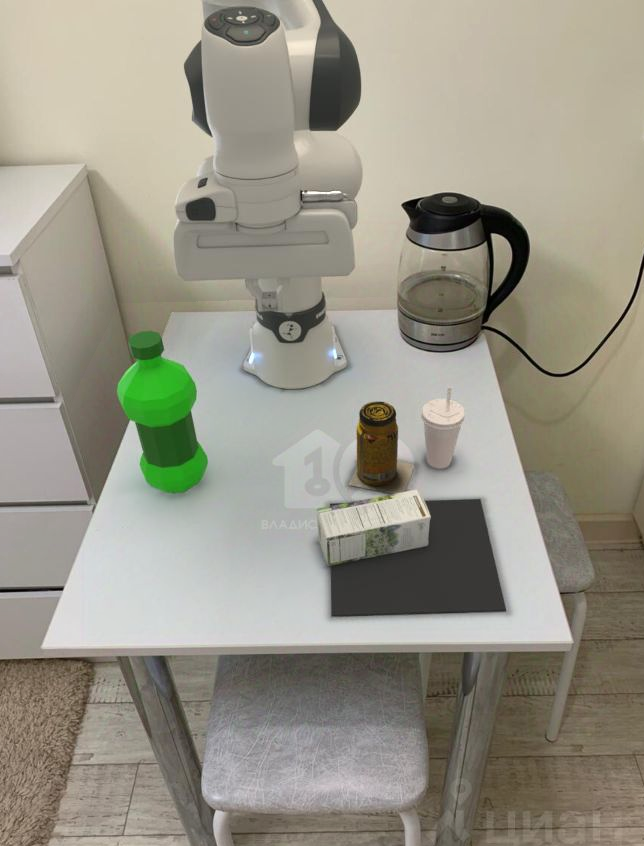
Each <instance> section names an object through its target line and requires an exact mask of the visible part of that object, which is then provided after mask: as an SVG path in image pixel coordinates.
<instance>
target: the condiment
mask: <svg viewBox="0 0 644 846" xmlns="http://www.w3.org/2000/svg"><path fill="white" fill-rule="evenodd" d="M358 417H359V418H358V423H357V425H356V468H355V470H354V472H353V474H352V477H351V478H350V480H349V482H348V485H349V486H353V487H357V488H363V489H367V490H371V491H377V492H383V493H388V494H396V493H401V492H406V489H407V488H408V484H409V482H410V479H411V477H412V474H413V471H414V468H415V466H416V465H415V464H413V463H410V462H404V461H398V443H399V425H398V423H397V418H396V417H397V411H396V408H395V407H394V406H393V405H391V404H389V403H388V402H385V401H377V400H376V401H370V402H367V403H365V404H363V406H361V408H360V410H359V413H358Z"/></svg>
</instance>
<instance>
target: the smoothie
mask: <svg viewBox="0 0 644 846" xmlns="http://www.w3.org/2000/svg"><path fill="white" fill-rule="evenodd" d="M451 397H452V386H451V385H448V386H447V390H446V398H435V399H432V400H429V401H427V402H426V403H424V405H423V406H422V409H421V414H420V417H421V419H422V421H423V428H424V429H423V430H424V442H425V452H426V453H425V454H426V455H425V456H426V463H427V465H428V466H430V467H431V468H433V469H438V470H440V469H446V468H448V467H449V466H450V465H451V463H452V460H453V456H454V452H455V448H456V444H457V441H458V437H459V433H460V430H461V426H462V425H463V423H464V422H465V418H466V411H465V408H464V406H462V405H461V404H460V403H459V402H457V401H455V400H453V399H452V398H451Z"/></svg>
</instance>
